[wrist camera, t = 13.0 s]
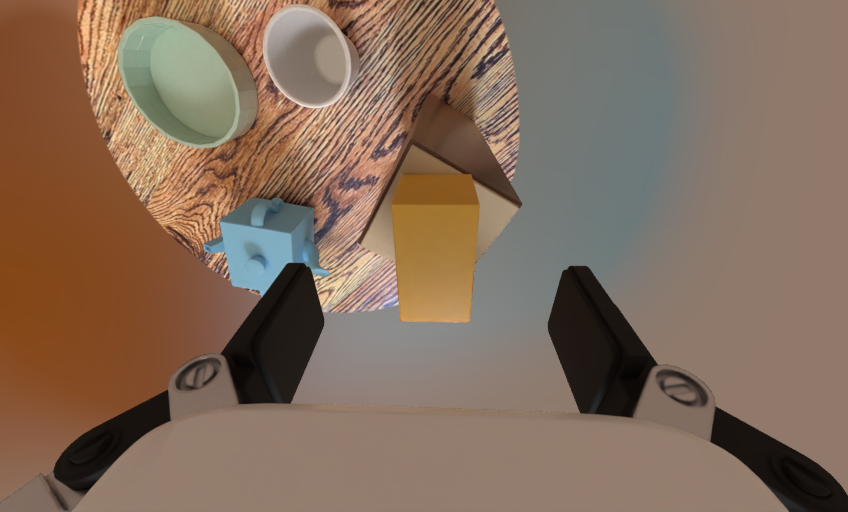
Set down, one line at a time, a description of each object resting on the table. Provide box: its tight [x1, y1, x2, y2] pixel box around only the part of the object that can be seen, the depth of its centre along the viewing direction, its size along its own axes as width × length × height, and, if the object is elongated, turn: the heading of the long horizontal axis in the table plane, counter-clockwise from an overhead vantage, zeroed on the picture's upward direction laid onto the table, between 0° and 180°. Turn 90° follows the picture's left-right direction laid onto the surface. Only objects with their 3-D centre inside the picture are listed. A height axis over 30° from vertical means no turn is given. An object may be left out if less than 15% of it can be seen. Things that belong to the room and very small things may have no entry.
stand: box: [358, 93, 522, 264], centre depth 29 cm, size 7×7×28 cm
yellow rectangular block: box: [391, 174, 480, 323], centre depth 16 cm, size 6×4×4 cm, turn 1°
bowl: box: [118, 16, 258, 149], centre depth 38 cm, size 13×13×4 cm
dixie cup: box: [263, 4, 360, 108], centre depth 33 cm, size 8×8×10 cm
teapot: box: [203, 197, 329, 297], centre depth 46 cm, size 16×18×11 cm
